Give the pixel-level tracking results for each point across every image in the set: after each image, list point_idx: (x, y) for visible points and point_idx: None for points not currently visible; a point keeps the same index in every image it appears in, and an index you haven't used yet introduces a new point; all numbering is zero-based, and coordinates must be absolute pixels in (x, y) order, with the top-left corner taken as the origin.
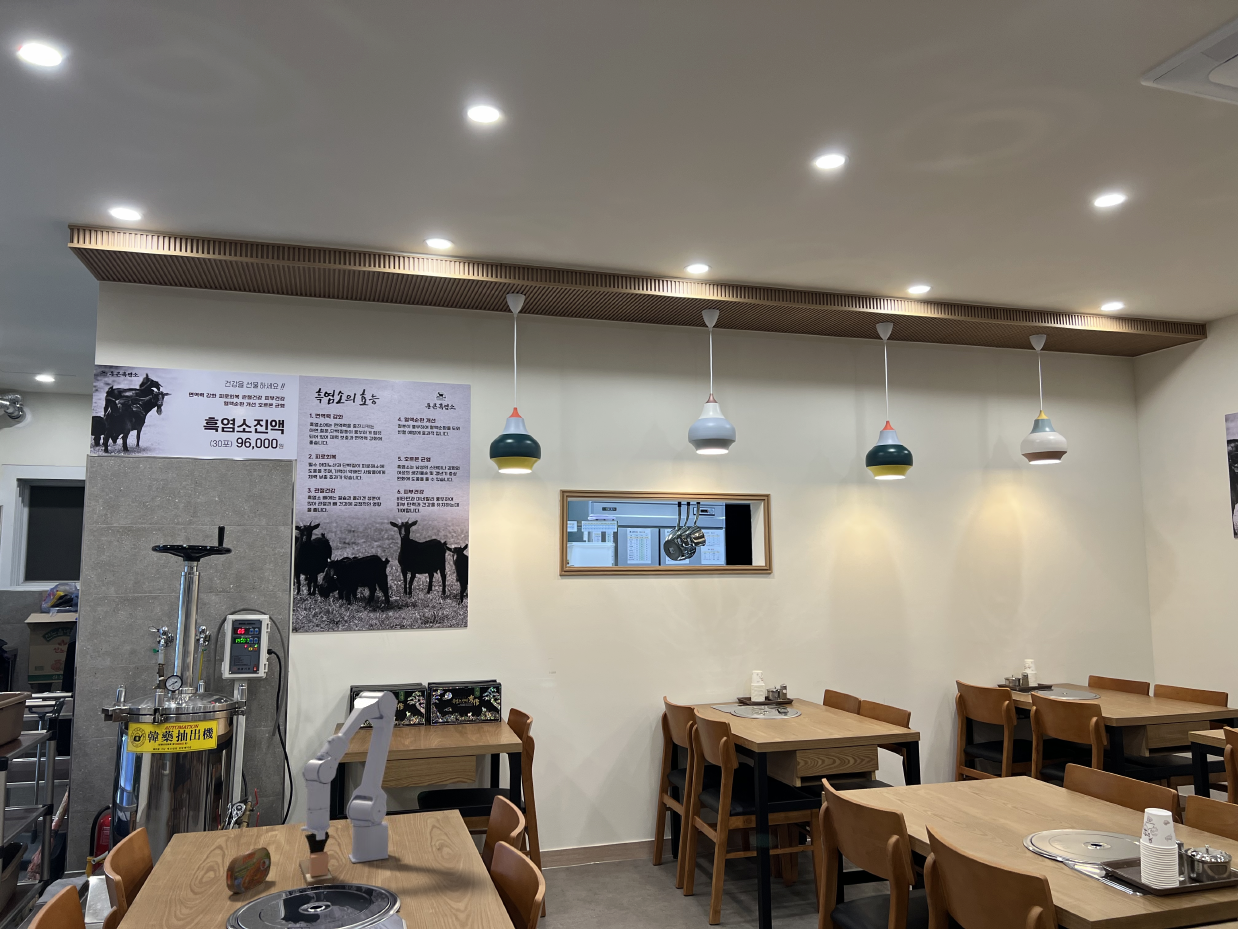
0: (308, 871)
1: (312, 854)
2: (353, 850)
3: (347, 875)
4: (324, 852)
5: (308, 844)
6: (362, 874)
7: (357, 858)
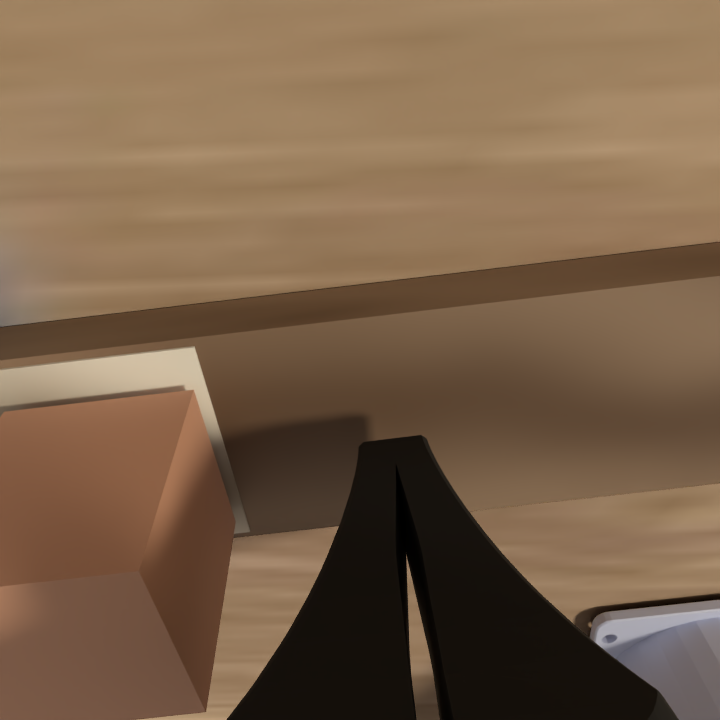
0: (326, 369)
1: (61, 604)
2: (715, 687)
3: (278, 589)
4: (146, 702)
5: (526, 599)
6: (265, 655)
7: (639, 651)
